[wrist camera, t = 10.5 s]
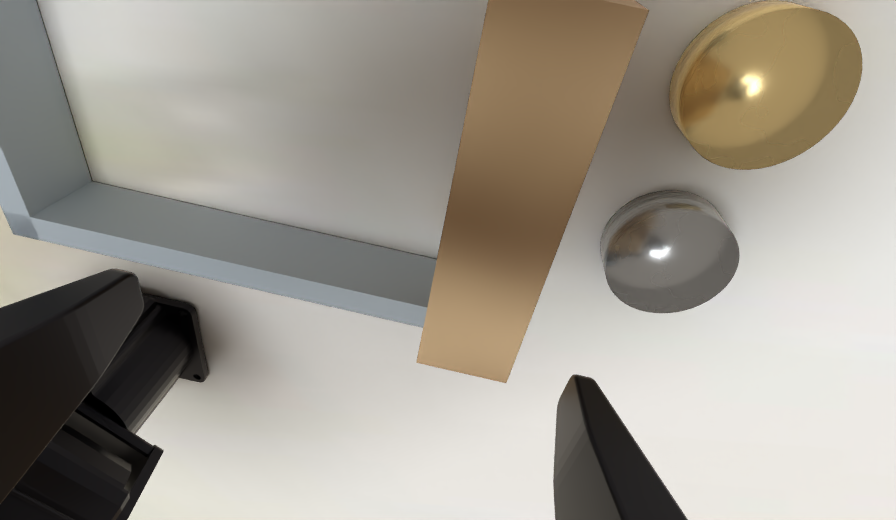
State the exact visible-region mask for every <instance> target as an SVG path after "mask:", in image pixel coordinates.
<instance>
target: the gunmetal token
mask: <svg viewBox="0 0 896 520" xmlns="http://www.w3.org/2000/svg"><path fill="white" fill-rule="evenodd" d="M600 249H601V256H602V260H603V265H604V270H605V274H606V279H607V282H608V285H609V287H610V289H611V290H612V292H613V293H614V294H615V295H616V296H617V297H618V298H619V299H620V300H621V301H622V302H624V303H625V304H627V305H629V306H631V307H633V308H636V309H638V310H642V311H646V312H652V313H672V312H679V311H684V310H687V309H691V308H693V307H696V306H699V305H701V304H703V303H705V302H707V301H708V300H710V299H712V298H713V297H715V296H716V295H717V294H718V293H720V292H721V291H722V290H723V289H724V288H725V287H726V286H727V284H728V283H729V282H730V281H731V279H732V277H733V276H734V274H735V272H736V269H737V267H738V263H739V247H738V244H737V241H736V239H735V237H734V235H733V233H732V232H731V230H730V229H729V227H728V226H727V224H726V223H725V221H724V220H723V218H722V217H721V215H720V214H719V212H718V211H717V210H716V208H715V207H714V206H713V205H712V204H711V203H710V202H708V201H707V200H705V199H704V198H702V197H700V196H698V195H695V194H692V193H689V192H684V191H673V190H669V191H659V192H654V193H650V194H647V195H644V196H641V197H639V198H636V199H635V200H633V201H631V202H629V203H628V204H626V205H625V206H623V207H622V208H621V209H620V210H618V211H617V212H616V213H615V214H614V215H613V216H612V218H611V219H610V220H609V222H608V223H607V225H606V227H605V229H604V231H603V234H602V237H601V244H600Z"/></svg>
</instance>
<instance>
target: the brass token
mask: <svg viewBox="0 0 896 520" xmlns="http://www.w3.org/2000/svg"><path fill="white" fill-rule="evenodd" d="M861 74H862V54H861V49H860V46H859V43H858V40H857V38H856V37H855V35H854V33H853V32H852V30H851V29H850V28H849V27H848V26H847V25H846V24H845V23H844V22H843V21H841V20H840V19H839V18H837V17H835V16H833V15H831V14H829V13H827V12H823V11H820V10H816V9H813V8H809V7H806V6H802V5H798V4H795V3H791V2H787V1H779V0H771V1H761V2H754V3H751V4H747V5H744V6H741V7H739V8H736V9H734V10H732V11H730V12H728V13H726V14H724V15H722V16H721V17H719V18H718V19H716V20H715V21H713V22H712V23H711V24H709V25H708V26H707V27H706V28H705V29H703V30H702V31H701V32H700V33H699V34H698V35H697V36H696V37H695V38H694V39H693V41H692V42H691V43H690V44H689V46H688V47H687V48H686V50H685V51H684V53H683V54H682V56H681V58H680V60H679V62H678V64H677V66H676V68H675V71H674V73H673V76H672V80H671V85H670V93H669V102H670V109H671V113H672V116H673V119H674V121H675V123H676V124H677V126H678V128H679V129H680V130H681V132H682V133H683V134H684V136H685V137H686V138H687V140H688V141H689V142H690V144H691V145H692V146H693V148H694V149H695V150H696V151H697V152H698V153H699V154H700V155H701V156H702V157H704V158H705V159H707V160H708V161H710V162H712V163H714V164H716V165H719V166H722V167H726V168H731V169H740V170H750V169H759V168H764V167H769V166H773V165H776V164H779V163H782V162H785V161H787V160H789V159H792V158H794V157H796V156H798V155H800V154H801V153H803V152H805V151H806V150H808V149H809V148H811V147H812V146H814V145H815V144H816V143H818V142H819V141H820V140H822V139H823V138H824V137H825V136H826V135H827V134H828V133H829V132H830V131H831V130H832V129H833V128H834V127H835V126H836V125H837V124H838V123H839V121H840V120H841V119H842V117H843V116H844V115H845V113H846V112H847V110H848V108H849V107H850V105H851V103H852V102H853V99H854V97H855V95H856V93H857V90H858V87H859V83H860V80H861Z"/></svg>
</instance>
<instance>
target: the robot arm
mask: <svg viewBox="0 0 896 520" xmlns="http://www.w3.org/2000/svg"><path fill="white" fill-rule="evenodd" d="M207 376H208V370H207V365H206V360H205V355H204V350H203V345H202V340H201V335H200V330H199V325H198V320H197V315H196V311H195V309H194V308H193V307H192V306H191V305H189V304H187V303H183V302H178V301H174V300H170V299H165V298H161V297H156V296H152V295H148V294H143V293H141V289H140V285H139V282H138V278H137V276H136V275H135V274H134V273H132V272H128V271H124V270H119V269H109V270H106V271H103V272H101V273H98V274H95V275H92V276H89V277H86V278H84V279H81V280H78V281H75V282H72V283H69V284H67V285H64V286H61V287H58V288H55V289H52V290H50V291H47V292H44V293H41V294H38V295H35V296H33V297H30V298H27V299H24V300H21V301H18V302H16V303H13V304H10V305H7V306H4V307H2V308H0V520H127V519H128V517H129V515H130V514H131V512H132V510H133V508H134V506H135V504H136V502H137V500H138V499H139V497H140V495H141V493H142V491H143V489H144V487H145V485H146V484H147V482H148V480H149V478H150V476H151V474H152V472H153V470H154V469H155V467H156V465H157V463H158V461H159V459H160V457H161V455H162V453H163V451H164V450H162V449H161V448H159V447H158V446H156V445H154V446H152V445H151V444H149V443H148V442H146V441H145V440H143V439H142V438H140V437H139V436H137V435H136V433H137V431H138V430H139V429H140V428H141V426H142V425H143V424H144V422H145V421H146V420H147V419H148V417H149V416H150V415H151V413H152V412H153V411H154V410H155V408H156V407H157V406H158V404H159V403H160V402H161V401H162V399H163V398H164V397H165V395H166V394H167V393H168V392H169V390H170V389H171V388H172V386H173V385H174V384H175V383H176V381H177V380H178V379H179V378H183V379H187V380H192V381H196V382H204V381H205V379H206V378H207ZM553 484H554V504H555V520H688V519H687V518H686V516H685V515H684V513H683V512H682V510H681V509H680V507H679V506H678V504H677V503H676V501H675V500H674V498H673V497H672V495H671V494H670V492H669V491H668V489H667V488H666V486H665V485H664V483H663V482H662V480H661V479H660V477H659V476H658V474H657V473H656V471H655V470H654V468H653V467H652V465H651V464H650V462H649V461H648V459H647V458H646V456H645V455H644V453H643V452H642V450H641V449H640V447H639V446H638V444H637V443H636V441H635V440H634V438H633V437H632V435H631V434H630V432H629V431H628V429H627V428H626V426H625V425H624V423H623V422H622V420H621V419H620V417H619V416H618V414H617V413H616V411H615V410H614V408H613V407H612V405H611V404H610V402H609V401H608V399H607V398H606V396H605V395H604V393H603V392H602V390H601V389H600V387H599V386H598V384H597V383H596V382H595V380H593V379H592V378H589V377H585V376H581V375H573V376H571V378H570V379H569V381H568V383H567V385H566V387H565V389H564V391H563V393H562V395H561V397H560V399H559V402H558V406H557V418H556V437H555V456H554V480H553Z"/></svg>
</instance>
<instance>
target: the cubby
mask: <svg viewBox="0 0 896 520" xmlns="http://www.w3.org/2000/svg"><path fill="white" fill-rule="evenodd" d="M0 206H1V208H2V210H3V212H4V214H5V217H6V219H7V221H8V223H9V226H10V228H11V230H12V232H13V234H15V235H19V236H24V237H28V238H33V239H37V240H41V241H46V242H50V243H55V244H59V245H63V246H68V247H72V248H76V249H81V250H85V251H90V252H94V253H98V254H103V255H107V256H111V257H116V258H120V259H125V260H129V261H133V262H138V263H142V264H146V265H151V266H155V267H160V268H164V269H168V270H173V271H177V272H182V273H186V274H190V275H195V276H199V277H203V278H208V279H212V280H217V281H221V282H225V283H230V284H234V285H238V286H243V287H247V288H252V289H256V290H260V291H265V292H269V293H273V294H278V295H282V296H287V297H291V298H295V299H300V300H304V301H309V302H313V303H317V304H322V305H326V306H330V307H335V308H339V309H344V310H348V311H352V312H357V313H361V314H365V315H370V316H374V317H379V318H383V319H387V320H392V321H396V322H400V323H405V324H409V325H414V326H418V327H422V328H423V327H424V322H425V317H426V312H427V307H428V302H429V297H430V292H431V287H432V282H433V277H434V271H435V266H436V261H437V259H433V258H429V257H424V256H420V255H415V254H411V253H407V252H402V251H398V250H393V249H389V248H385V247H380V246H376V245H371V244H367V243H362V242H358V241H354V240H349V239H345V238H340V237H336V236H332V235H327V234H323V233H318V232H314V231H309V230H305V229H301V228H296V227H292V226H287V225H283V224H279V223H274V222H270V221H265V220H261V219H257V218H252V217H248V216H243V215H239V214H234V213H230V212H226V211H221V210H217V209H212V208H208V207H204V206H199V205H195V204H190V203H186V202H181V201H177V200H173V199H168V198H164V197H159V196H155V195H151V194H146V193H142V192H137V191H133V190H128V189H124V188H120V187H115V186H111V185H106V184H102V183H98V182H93V181H92V180H91V177H90V173H89V170H88V167H87V164H86V160H85V157H84V154H83V151H82V147H81V144H80V141H79V138H78V135H77V131H76V128H75V125H74V122H73V118H72V115H71V112H70V109H69V105H68V102H67V99H66V96H65V92H64V89H63V86H62V83H61V79H60V76H59V73H58V70H57V66H56V63H55V60H54V57H53V54H52V50H51V47H50V44H49V41H48V37H47V34H46V31H45V28H44V24H43V21H42V18H41V15H40V11H39V8H38V5H37V2H36V0H0Z"/></svg>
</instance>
